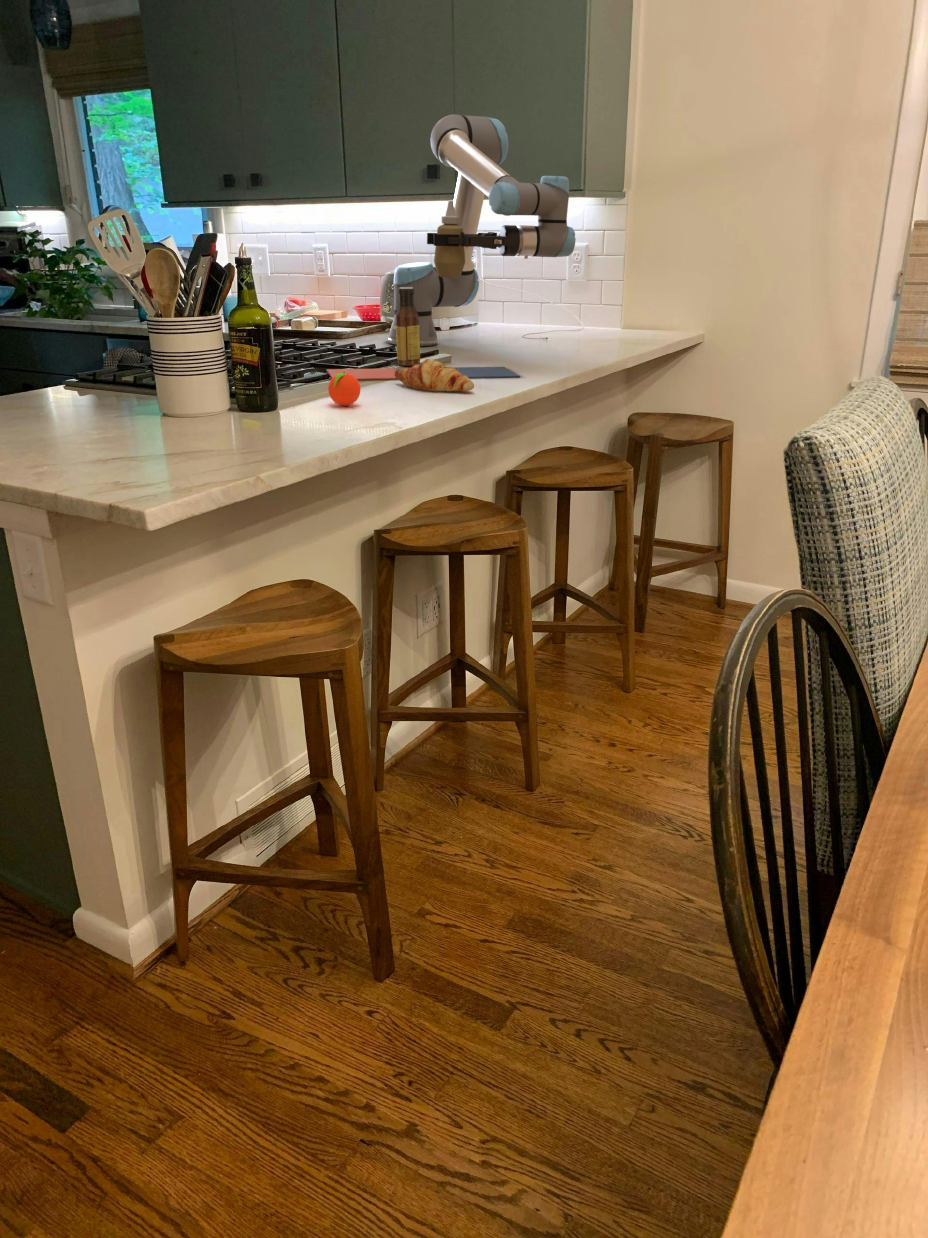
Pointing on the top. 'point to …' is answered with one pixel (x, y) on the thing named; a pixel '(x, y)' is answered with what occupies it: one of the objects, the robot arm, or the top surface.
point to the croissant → (434, 377)
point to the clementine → (344, 389)
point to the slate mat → (487, 372)
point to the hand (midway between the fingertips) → (430, 238)
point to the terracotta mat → (366, 373)
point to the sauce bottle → (407, 329)
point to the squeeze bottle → (449, 247)
